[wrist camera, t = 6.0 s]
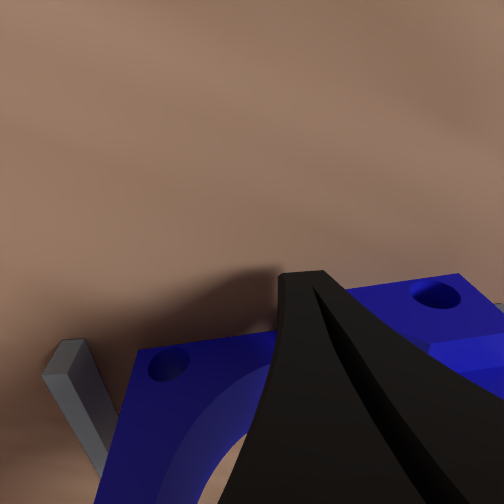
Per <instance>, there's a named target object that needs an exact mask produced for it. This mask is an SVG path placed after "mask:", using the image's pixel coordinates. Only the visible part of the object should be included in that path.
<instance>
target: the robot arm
mask: <svg viewBox="0 0 504 504" xmlns="http://www.w3.org/2000/svg"><path fill="white" fill-rule="evenodd" d="M277 324H278V331H277V337H276V342H275V347H274V351H273V355H272V360H271V363H270V367H269V371H268V374H267V378H266V381H265V385H264V388H263V391H262V394H261V397H260V400H259V403H258V406H257V409H256V412H255V415H254V417H253V420H252V423H251V426H250V428H249V431H248V433H247V436H246V438H245V441H244V443H243V446H242V448H241V451H240V453H239V455H238V458H237V460H236V463H235V465H234V468H233V470H232V473H231V475H230V477H229V480H228V482H227V484H226V486H225V488H224V491H223V493H222V495H221V497H220V499H219V501H218V504H504V400H503V399H502V398H500V397H498V396H496V395H494V394H493V393H491V392H489V391H487V390H486V389H484V388H482V387H480V386H479V385H477V384H475V383H473V382H472V381H470V380H468V379H467V378H465V377H463V376H462V375H460V374H458V373H457V372H455V371H453V370H452V369H450V368H449V367H447V366H446V365H444V364H442V363H441V362H439V361H438V360H436V359H435V358H433V357H432V356H430V355H429V354H427V353H425V352H424V351H422V350H421V349H420V348H418V347H417V346H415V345H414V344H412V343H411V342H410V341H408V340H407V339H405V338H404V337H403V336H401V335H400V334H399V333H397V332H396V331H395V330H393V329H392V328H391V327H389V326H388V325H387V324H385V323H384V322H383V321H382V320H380V319H379V318H378V317H377V316H375V315H374V314H373V313H372V312H370V311H369V310H368V309H367V308H366V307H364V306H363V305H362V304H361V303H360V302H359V301H357V300H356V299H355V298H354V297H353V296H352V295H351V294H349V293H348V292H347V291H346V290H345V289H344V288H343V287H342V286H340V285H339V284H338V283H337V282H336V281H335V280H334V279H333V278H332V277H331V276H329V275H328V274H327V273H326V272H325V271H324V270H319V271H305V272H292V273H282V274H280V275H279V276H278V312H277Z"/></svg>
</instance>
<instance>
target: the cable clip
mask: <svg viewBox="0 0 504 504" xmlns="http://www.w3.org/2000/svg"><path fill="white" fill-rule="evenodd" d="M345 290H346V291H347V292H348V293H349V294H351V295H352V296H353V297H354V298H355V299H356V300H357V301H359V302H360V303H361V304H362V305H363V306H364V307H366V308H367V309H368V310H369V311H370V312H372V313H373V314H374V315H375V316H377V317H378V318H379V319H380V320H382V321H383V322H384V323H385V324H387V325H388V326H389V327H391V328H392V329H393V330H395V331H396V332H397V333H399V334H400V335H401V336H403V337H404V338H405V339H407V340H408V341H410V342H411V343H412V344H414V345H415V346H417V347H418V348H420V349H421V350H422V351H424V352H425V353H427V354H429V355H430V356H432V357H433V358H435V359H436V360H438V361H439V362H441V363H442V364H444V365H446V366H447V367H449V368H450V369H452V370H453V371H455V372H457V373H458V374H460V375H462V376H463V377H465V378H467V379H468V380H470V381H472V382H473V383H475V384H477V385H479V386H480V387H482V388H484V389H486V390H487V391H489V392H491V393H493V394H494V395H496V396H498V397H500V398H502V399H503V400H504V313H503V312H502V311H501V310H500V309H499V308H497V307H496V306H495V305H494V304H493V303H492V302H491V301H489V300H488V299H487V298H486V297H485V296H484V295H483V294H481V293H480V292H479V291H478V290H477V289H476V288H475V287H474V286H472V285H471V284H470V283H469V282H468V281H467V280H466V279H464V278H463V277H462V276H461V275H460V274H459V273H457V274H450V275H443V276H436V277H429V278H422V279H415V280H408V281H401V282H394V283H387V284H380V285H373V286H366V287H359V288H352V289H345ZM277 331H278V330H274V331H267V332H260V333H253V334H246V335H240V336H233V337H226V338H219V339H212V340H205V341H198V342H191V343H184V344H177V345H170V346H163V347H156V348H150V349H143V350H138V353H137V357H136V360H135V363H134V367H133V370H132V374H131V377H130V381H129V384H128V387H127V391H126V394H125V398H124V401H123V405H122V408H121V411H120V415H119V418H118V422H117V425H116V429H115V432H114V435H113V439H112V442H111V446H110V449H109V453H108V456H107V459H106V463H105V466H104V470H103V473H102V477H101V480H100V483H99V487H98V490H97V494H96V497H95V501H94V504H197V502H198V500H199V498H200V496H201V494H202V491H203V489H204V487H205V485H206V483H207V482H208V480H209V478H210V476H211V475H212V473H213V471H214V470H215V468H216V467H217V465H218V464H219V462H220V461H221V460H222V458H223V457H224V456H225V454H226V453H227V452H228V451H229V450H230V449H231V447H232V446H233V445H234V444H235V443H236V442H237V441H238V440H239V439H240V438H241V437H243V436H244V435H245V434H246V433H248V431H249V428H250V426H251V423H252V420H253V417H254V415H255V412H256V409H257V406H258V403H259V400H260V397H261V394H262V391H263V388H264V385H265V381H266V378H267V374H268V371H269V367H270V363H271V360H272V355H273V351H274V347H275V342H276V337H277Z"/></svg>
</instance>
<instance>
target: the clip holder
mask: <svg viewBox="0 0 504 504" xmlns="http://www.w3.org/2000/svg"><path fill="white" fill-rule="evenodd" d="M494 305H495V306H496V307H497V308H499V309H500V310H501V311H502V312H503V313H504V304H503V303H502V304H494ZM41 377H42V378H43V380H44V382H45V383H46V385H47V387H48V389H49V390H50V392H51V394H52V395H53V397H54V399H55V401H56V402H57V404H58V406H59V407H60V409H61V411H62V413H63V414H64V416H65V418H66V419H67V421H68V423H69V425H70V426H71V428H72V430H73V431H74V433H75V435H76V437H77V438H78V440H79V442H80V443H81V445H82V447H83V449H84V450H85V452H86V454H87V455H88V457H89V459H90V461H91V462H92V464H93V466H94V467H95V469H96V471H97V473H98V474H99V476H100V478H101V477H102V473H103V470H104V466H105V463H106V459H107V456H108V453H109V449H110V446H111V442H112V439H113V435H114V432H115V429H116V425H117V422H118V418H119V417H118V415H117V413H116V410H115V408H114V406H113V403H112V401H111V399H110V396H109V394H108V392H107V390H106V387H105V385H104V383H103V380H102V378H101V376H100V373H99V371H98V369H97V366H96V364H95V362H94V360H93V357H92V355H91V353H90V350H89V348H88V346H87V343H86V341H85V339H74V340H63V341H61V343H60V344H59V346H58V348H57V349H56V351H55V353H54V355H53V356H52V358H51V360H50V361H49V363H48V365H47V367H46V368H45V370H44V372H43V373H42V375H41Z"/></svg>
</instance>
